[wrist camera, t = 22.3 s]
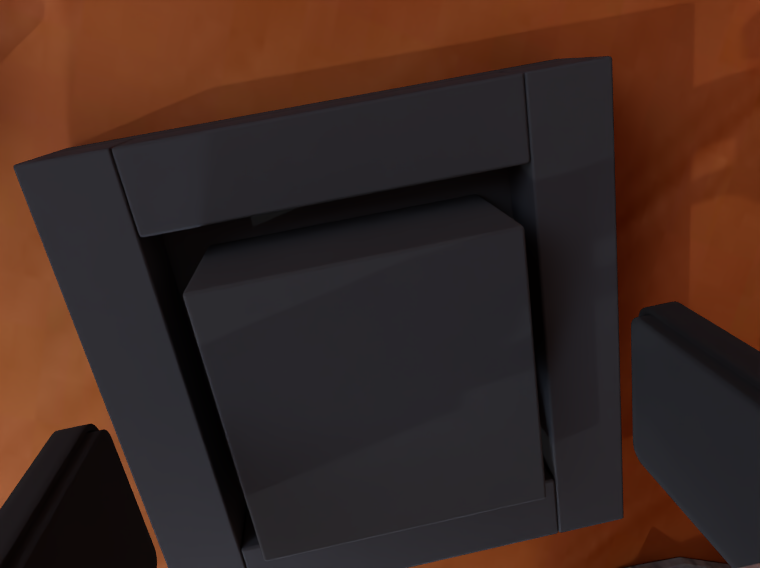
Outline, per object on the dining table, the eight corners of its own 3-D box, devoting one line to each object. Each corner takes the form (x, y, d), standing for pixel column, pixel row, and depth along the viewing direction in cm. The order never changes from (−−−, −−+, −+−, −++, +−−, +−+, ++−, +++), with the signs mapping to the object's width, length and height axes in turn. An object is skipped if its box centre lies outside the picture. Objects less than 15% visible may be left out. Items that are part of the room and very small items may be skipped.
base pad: (558, 58, 13) (613, 55, 11) (580, 458, 17) (624, 519, 15) (65, 148, 13) (10, 165, 10) (203, 542, 16) (187, 620, 14)
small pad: (477, 192, 13) (525, 225, 10) (502, 420, 15) (547, 499, 12) (207, 244, 13) (180, 293, 10) (271, 470, 15) (264, 563, 12)
